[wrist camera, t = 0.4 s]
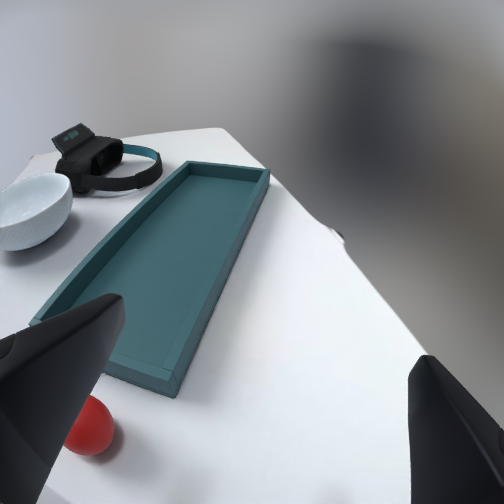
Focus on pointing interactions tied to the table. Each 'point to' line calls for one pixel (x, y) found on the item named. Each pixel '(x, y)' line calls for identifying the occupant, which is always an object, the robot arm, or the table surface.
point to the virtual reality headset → (100, 161)
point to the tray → (167, 268)
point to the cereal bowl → (33, 210)
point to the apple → (91, 429)
